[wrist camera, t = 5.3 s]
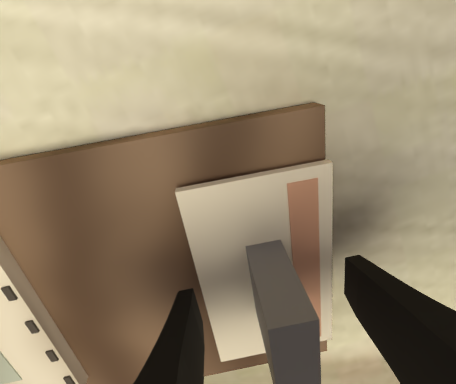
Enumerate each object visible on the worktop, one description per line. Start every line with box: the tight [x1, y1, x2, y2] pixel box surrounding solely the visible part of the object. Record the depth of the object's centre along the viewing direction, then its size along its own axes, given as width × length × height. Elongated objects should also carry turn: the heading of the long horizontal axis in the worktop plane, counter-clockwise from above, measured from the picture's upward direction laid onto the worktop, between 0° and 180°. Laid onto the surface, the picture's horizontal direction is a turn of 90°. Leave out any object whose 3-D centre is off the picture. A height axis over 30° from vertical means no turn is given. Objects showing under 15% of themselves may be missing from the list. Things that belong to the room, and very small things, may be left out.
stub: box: [175, 159, 333, 384], centre depth 10 cm, size 6×10×4 cm, turn 9°
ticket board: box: [0, 103, 327, 384], centre depth 13 cm, size 22×14×2 cm, turn 99°
